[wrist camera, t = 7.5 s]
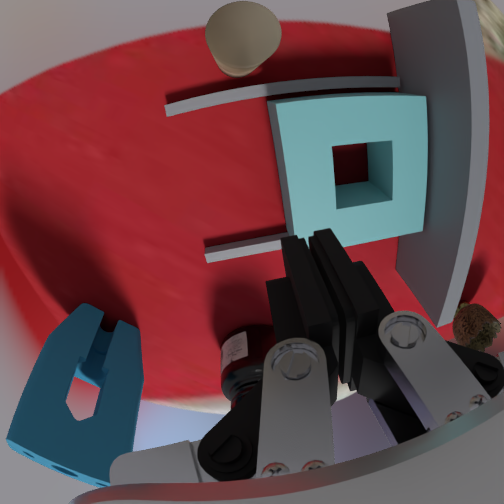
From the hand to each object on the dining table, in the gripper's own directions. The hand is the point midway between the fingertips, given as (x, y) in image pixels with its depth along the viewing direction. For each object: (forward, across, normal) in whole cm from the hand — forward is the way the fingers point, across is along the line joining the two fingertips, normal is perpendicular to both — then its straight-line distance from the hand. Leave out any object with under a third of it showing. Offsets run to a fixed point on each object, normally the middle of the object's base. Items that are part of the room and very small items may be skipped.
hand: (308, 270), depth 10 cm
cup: (+17, -27, +27) cm, 42 cm away
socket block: (+17, -7, +2) cm, 19 cm away
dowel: (+17, 0, -9) cm, 19 cm away
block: (+17, +23, +16) cm, 33 cm away
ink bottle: (+17, +5, +23) cm, 29 cm away
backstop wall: (+17, -5, +1) cm, 18 cm away
